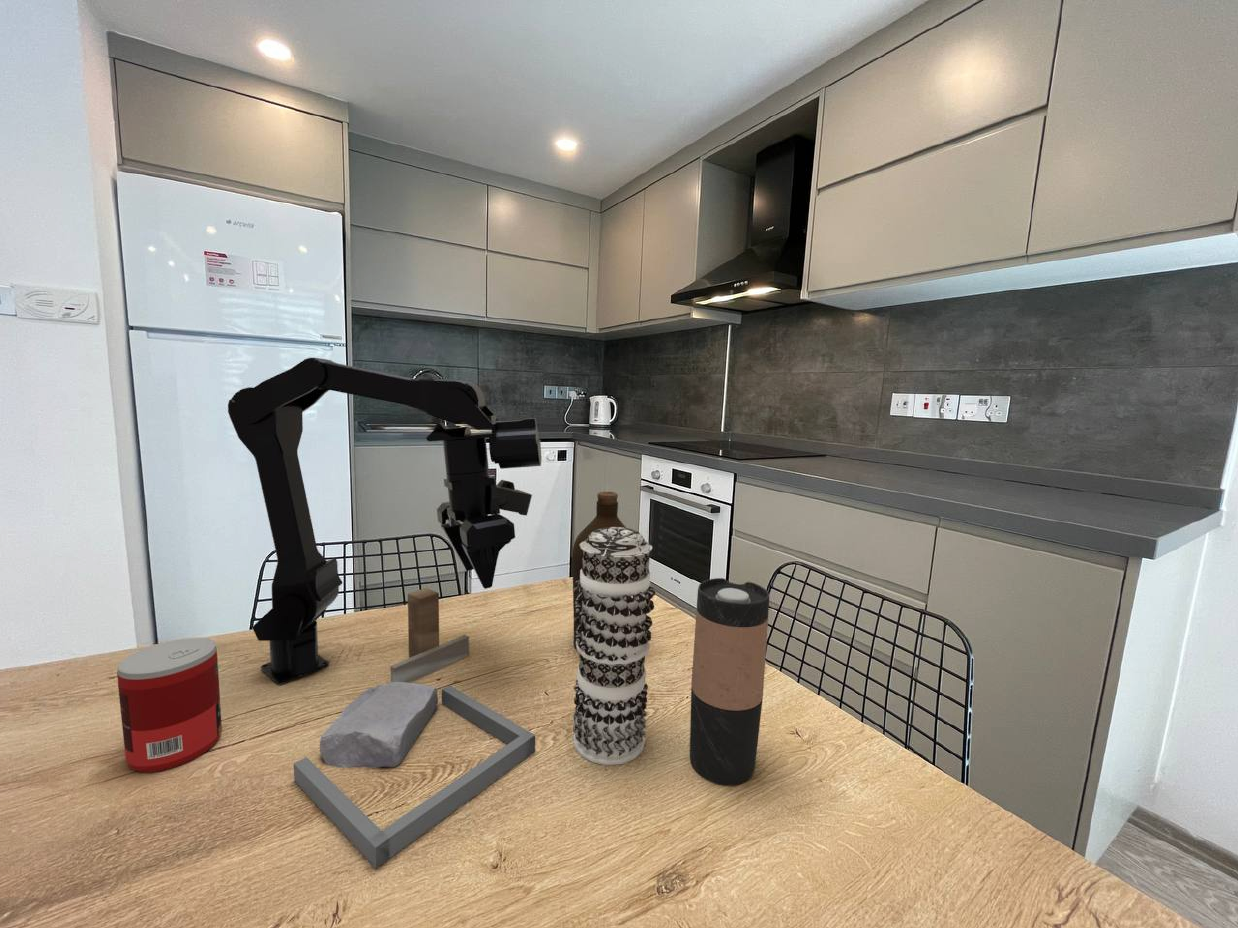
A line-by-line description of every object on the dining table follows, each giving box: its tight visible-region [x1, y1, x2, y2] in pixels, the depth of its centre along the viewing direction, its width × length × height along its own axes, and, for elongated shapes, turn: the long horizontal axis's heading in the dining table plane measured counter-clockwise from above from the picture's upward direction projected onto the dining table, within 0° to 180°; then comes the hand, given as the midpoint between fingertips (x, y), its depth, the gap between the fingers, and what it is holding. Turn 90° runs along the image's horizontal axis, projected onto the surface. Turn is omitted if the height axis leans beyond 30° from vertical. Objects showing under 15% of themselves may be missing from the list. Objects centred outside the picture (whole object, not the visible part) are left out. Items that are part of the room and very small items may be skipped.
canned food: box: [117, 637, 223, 773], centre depth 55 cm, size 8×8×11 cm
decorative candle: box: [572, 527, 656, 766], centre depth 58 cm, size 9×9×25 cm
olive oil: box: [571, 491, 627, 650], centre depth 81 cm, size 11×11×25 cm
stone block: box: [319, 682, 439, 769], centre depth 60 cm, size 12×5×10 cm
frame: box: [293, 684, 536, 869], centre depth 54 cm, size 16×18×2 cm
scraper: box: [390, 587, 470, 683], centre depth 74 cm, size 4×12×11 cm, turn 144°
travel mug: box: [689, 577, 770, 786], centre depth 55 cm, size 8×8×20 cm
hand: (478, 578), depth 73 cm, fingers open, 9 cm apart
